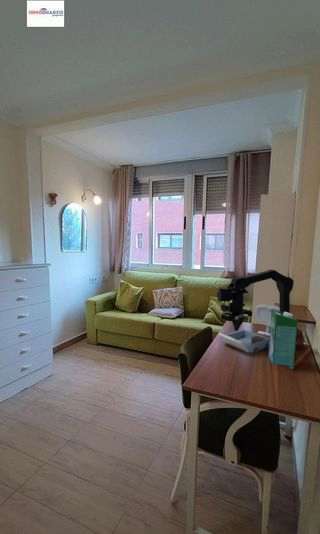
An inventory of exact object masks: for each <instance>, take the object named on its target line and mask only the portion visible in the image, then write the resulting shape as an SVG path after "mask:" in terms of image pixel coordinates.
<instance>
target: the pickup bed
mask: <svg viewBox="0 0 320 534" xmlns="http://www.w3.org/2000/svg"><path fill="white" fill-rule="evenodd" d="M225 335H226V336H229V337H231V338H234V339H237V340H239V341H242V342H243V344H244V345H245V346H246V348H247V349H248V350H249V352H250V353H251V354H253V353H254V354H257V353H259V352H260V351H261V350H263V349H269V339H270V337H266V336H265V335H262V334H259V333H256V332H252V331H249V330H246V329H240V330H238V331H232V332H230V333H226V334H225ZM253 336H259V337H262V338H263V340H262V341H259V342H256V343H254V344H251V337H253ZM249 352H248V353H249Z"/></svg>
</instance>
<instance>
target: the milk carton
mask: <svg viewBox="0 0 320 534" xmlns="http://www.w3.org/2000/svg"><path fill="white" fill-rule="evenodd" d="M298 322H299V320H297V319H296V318H295V317H294V314H292V313H288V312H284V313H283V312H279V311H276V310H273V309H272V311H271V325H270V326H269V333H270V336H269V338H270V339H269V348H268V355H267V357H268V358H269V360H270V362H271V364H272V365H276V366H277V365H278V366H287V369H288V370H294V369H295V357H296V356H295V355H296V345H297V341H296V336H297V335H298V334H297V332H298Z"/></svg>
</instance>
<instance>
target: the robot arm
mask: <svg viewBox="0 0 320 534" xmlns="http://www.w3.org/2000/svg"><path fill="white" fill-rule="evenodd" d="M270 279H271V280H272V281H274V282H275V285H276V288H277V291H278V294H279V308H280V312H283V313H284V312H288V313H290V311H291V310H290V309H291V307H290V306H291V304H290V303H291V301H290V300H291V295H290V294H291V293H292V290H293V289H294V283H295V282H294V279H293V278H292V277H290V276H286V275H283V274H282V273H280V272H278V270H275V269H268V270H265V271H261V272H257V273H253V274H250V275H239V276H238V275H237V276H234V277H232V278H231V282H230V283H229V284H228V286H227V287H226V288H224V287H223V288H222V287H221V288H218V291H217V294H216V296H217V297H216V298H217V301H218V302H219V303H221V302H230V303H229V304H228V305H227V304H226V303H225V304H221V305H220V310H221V312H222V313H221V314H220V319H221V320H225V321H226V322H227V321H228V322H232V325H233V328H234V332H236V331H239V329H240V328H241V326H242V324H243V323H244V321H245V320H246V317H244V316H245V315H247V316H248V317H252V316H253V312H252V310H251V309H248V308H244V307H245V306H246V303H244V299H245V294H248V293H249V291H248V290H247V289H246V288H247V287H249V286H251V285H252V284H255V283H258V282H259V283H260V282H263V281H267V280H270ZM290 314H291V313H290ZM297 341H298V336H297V335H296V342H297Z"/></svg>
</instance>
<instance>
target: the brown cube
mask: <svg viewBox="0 0 320 534" xmlns="http://www.w3.org/2000/svg"><path fill="white" fill-rule="evenodd" d="M262 340H263V338H262V337H259V336H253V337H251V344H254V343H256V342H259V341H262Z"/></svg>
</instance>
